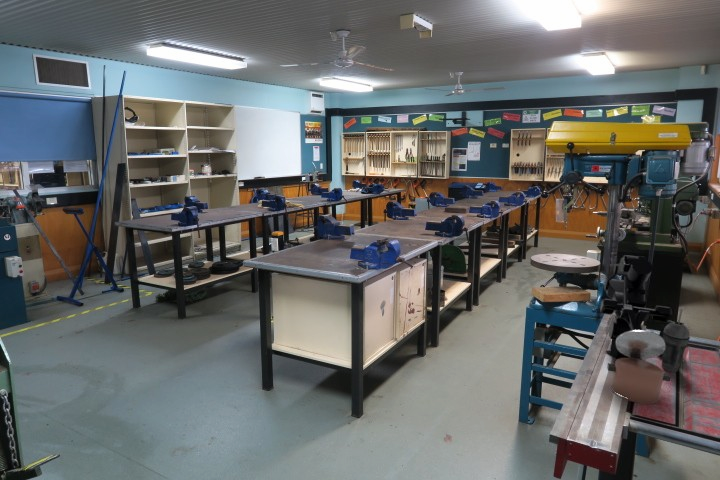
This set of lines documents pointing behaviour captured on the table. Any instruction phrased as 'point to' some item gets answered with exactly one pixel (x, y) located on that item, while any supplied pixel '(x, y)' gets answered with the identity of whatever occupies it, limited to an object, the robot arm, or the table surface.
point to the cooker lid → (640, 344)
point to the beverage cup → (674, 344)
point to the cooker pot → (637, 380)
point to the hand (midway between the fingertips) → (635, 335)
